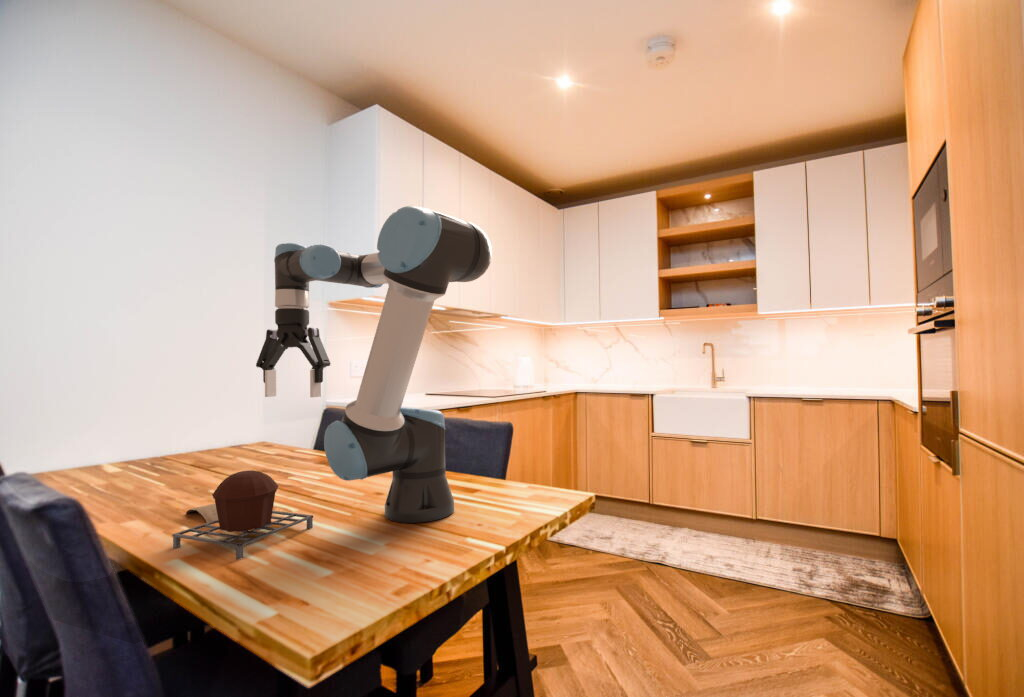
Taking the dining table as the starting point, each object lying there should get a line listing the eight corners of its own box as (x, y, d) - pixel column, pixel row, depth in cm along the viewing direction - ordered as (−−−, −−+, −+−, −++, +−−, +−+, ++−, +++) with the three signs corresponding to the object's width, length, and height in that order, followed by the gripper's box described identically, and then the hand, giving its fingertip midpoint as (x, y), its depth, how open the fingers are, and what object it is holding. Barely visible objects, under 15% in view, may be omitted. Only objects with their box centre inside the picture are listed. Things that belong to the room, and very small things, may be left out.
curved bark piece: (258, 515, 110) (258, 503, 110) (209, 527, 102) (209, 514, 102) (230, 505, 119) (229, 494, 119) (182, 516, 111) (182, 504, 111)
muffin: (206, 524, 94) (206, 472, 95) (266, 511, 102) (266, 463, 102) (222, 539, 86) (222, 482, 86) (287, 524, 94) (286, 472, 94)
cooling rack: (313, 527, 99) (313, 515, 99) (239, 559, 83) (239, 545, 83) (252, 519, 105) (252, 508, 105) (172, 548, 89) (172, 534, 89)
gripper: (345, 307, 117) (345, 395, 116) (264, 312, 125) (265, 395, 124) (323, 304, 110) (324, 398, 109) (239, 310, 118) (239, 397, 117)
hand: (292, 396), depth 117 cm, fingers open, 13 cm apart
